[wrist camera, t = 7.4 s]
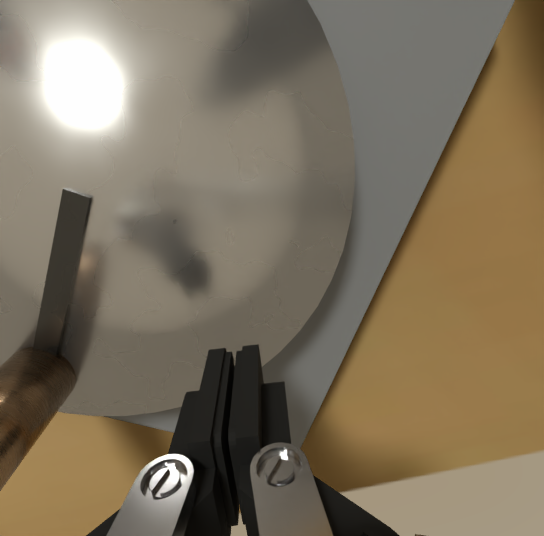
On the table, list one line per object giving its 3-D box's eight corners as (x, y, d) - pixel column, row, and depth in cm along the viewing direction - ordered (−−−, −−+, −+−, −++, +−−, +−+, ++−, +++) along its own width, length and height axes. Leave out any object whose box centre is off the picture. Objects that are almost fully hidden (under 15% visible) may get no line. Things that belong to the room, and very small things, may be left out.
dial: (-190, -285, 9) (-1323, -1365, 2) (432, 22, 11) (644, -116, 5) (-176, 321, 14) (-527, 469, 8) (249, 432, 16) (246, 608, 10)
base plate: (488, 10, 13) (520, -7, 11) (291, 436, 19) (294, 463, 17) (-231, -332, 9) (-329, -427, 8) (-188, 320, 15) (-238, 340, 14)
